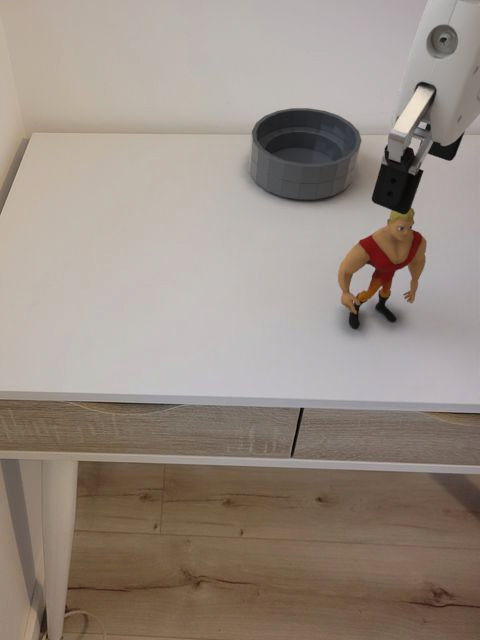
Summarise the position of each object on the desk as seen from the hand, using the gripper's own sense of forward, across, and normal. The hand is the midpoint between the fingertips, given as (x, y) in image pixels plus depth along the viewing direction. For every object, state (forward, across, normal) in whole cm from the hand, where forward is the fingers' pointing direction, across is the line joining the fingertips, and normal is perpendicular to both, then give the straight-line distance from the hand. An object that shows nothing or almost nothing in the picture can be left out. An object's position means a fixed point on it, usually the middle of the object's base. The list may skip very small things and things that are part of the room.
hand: (413, 179), depth 53 cm
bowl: (+18, +20, +20) cm, 33 cm away
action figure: (+18, 0, 0) cm, 18 cm away
